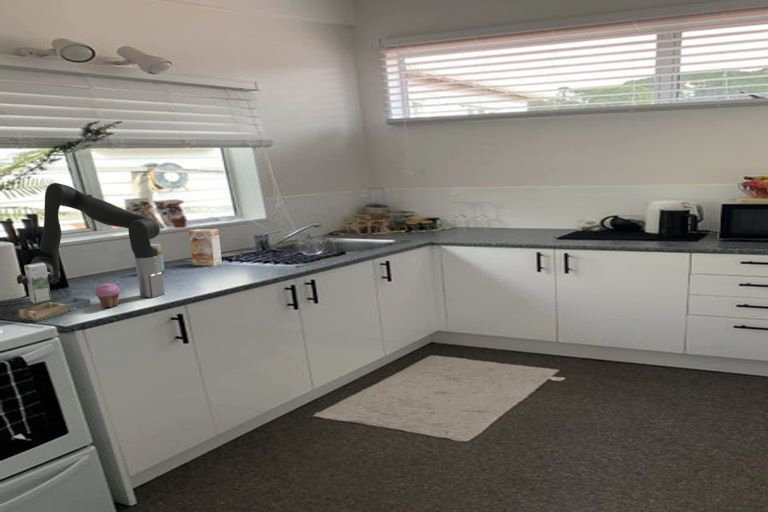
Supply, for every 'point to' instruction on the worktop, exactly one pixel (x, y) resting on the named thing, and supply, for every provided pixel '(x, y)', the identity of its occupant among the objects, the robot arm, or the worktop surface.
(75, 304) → the blue-grey shallow square dish
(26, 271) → the syrup box
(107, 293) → the cupcake
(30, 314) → the tray
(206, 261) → the coffeecake box
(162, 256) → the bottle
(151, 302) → the worktop surface
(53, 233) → the robot arm
